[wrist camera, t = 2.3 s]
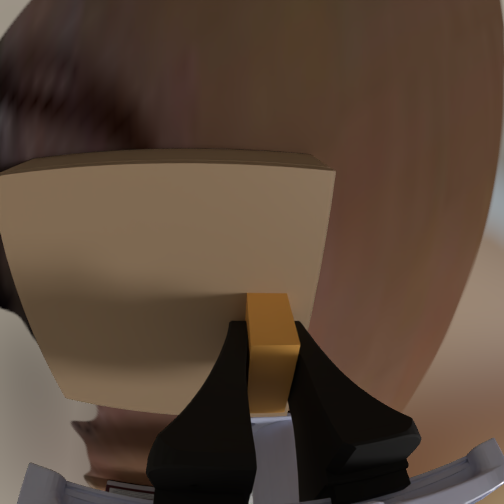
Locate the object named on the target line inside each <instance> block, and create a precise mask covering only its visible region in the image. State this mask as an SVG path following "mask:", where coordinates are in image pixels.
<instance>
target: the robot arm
mask: <svg viewBox="0 0 504 504" xmlns="http://www.w3.org/2000/svg"><path fill="white" fill-rule="evenodd" d="M294 322H295V326H296V330H297V333H298V337H299V341H300V349H299V354H298V358H297V363H296V367H295V371H294V376H293V380H292V384H291V388H290V392H289V396H288V400H287V401H288V405H289V409H290V413H287V416H276V417H250V409H249V400H248V391H247V380H246V359H247V343H248V330H247V323H246V321H230V322H229V327H228V332H227V336H226V339H225V342H224V345H223V347H222V349H221V352H220V354H219V356H218V359H217V361H216V363H215V364H214V366H213V368H212V370H211V372H210V374H209V376H208V377H207V379H206V380H205V382H204V384H203V385H202V387H201V388H200V389H199V391H198V392H197V394H196V395H195V396H194V398H193V399H192V400H191V402H190V403H189V404H188V405H187V406H186V407H185V409H184V410H183V411H182V412H181V413H180V414H179V415H178V416H177V417H176V418H175V419H174V420H173V421H172V422H171V423H170V424H169V425H168V426H167V427H166V428H165V429H164V430H163V431H162V432H160V433H159V434H158V436H157V437H156V439H155V441H154V444H153V446H152V448H151V451H150V454H149V457H148V461H147V468H146V474H147V477H148V478H149V480H150V481H151V483H152V485H153V486H154V488H155V490H154V500H147V499H141V498H135V497H129V496H124V495H119V494H115V493H110V492H106V491H101V490H97V489H93V488H90V487H86V486H82V485H79V484H75V483H72V482H69V481H66V480H65V478H64V477H63V476H61V475H60V474H59V473H57V472H55V471H53V470H50V469H47V468H44V467H42V466H39V465H36V464H34V463H29V465H28V468H27V471H26V474H25V478H24V481H23V484H22V487H21V491H20V494H19V498H18V502H17V504H249V499H250V494H252V492H253V504H474V503H476V502H478V501H479V500H481V499H483V498H484V497H485V496H487V495H489V494H490V493H491V492H493V491H494V490H496V489H497V488H499V487H500V486H501V485H502V484H504V456H503V454H502V452H501V450H500V448H499V446H498V444H497V442H496V440H495V438H491V439H489V440H488V441H485V442H484V443H481V444H479V445H478V446H476V447H475V448H473V449H472V450H471V451H470V452H469V453H468V454H467V456H465V457H463V458H460V459H458V460H456V461H453V462H451V463H449V464H446V465H444V466H441V467H439V468H436V469H434V470H431V471H428V472H426V473H423V474H420V475H417V476H414V477H411V478H409V476H408V474H407V471H406V468H408V462H407V459H406V458H407V457H408V456H409V455H410V454H411V453H412V452H413V451H414V450H415V449H416V448H417V446H418V445H419V444H420V441H421V436H420V434H419V432H418V429H417V427H416V425H415V423H414V421H413V419H412V418H411V417H409V416H406V415H404V414H402V413H400V412H398V411H396V410H394V409H392V408H390V407H388V406H387V405H385V404H383V403H381V402H380V401H378V400H377V399H375V398H374V397H372V396H371V395H369V394H368V393H367V392H365V391H364V390H362V389H361V388H360V387H358V386H357V385H356V384H355V383H353V382H352V381H351V380H350V379H349V378H348V377H347V376H346V375H344V374H343V373H342V372H341V371H340V370H339V369H338V368H337V367H336V365H335V364H334V363H333V362H332V361H331V360H330V359H329V358H328V357H327V356H326V354H325V353H324V352H323V351H322V350H321V348H320V347H319V346H318V345H317V343H316V342H315V341H314V339H313V338H312V337H311V335H310V334H309V333H308V331H307V330H306V329H305V327H304V326H303V324H302V323H301V322H300V321H294Z"/></svg>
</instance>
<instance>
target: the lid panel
mask: <svg viewBox="0 0 504 504" xmlns="http://www.w3.org/2000/svg"><path fill="white" fill-rule="evenodd" d="M335 174H336V171H335V170H333V169H332V168H327V167H317V166H306V165H294V164H280V163H263V162H243V161H210V160H156V161H124V162H104V163H88V164H75V165H64V166H53V167H44V168H35V169H27V170H19V171H12V172H5V173H0V233H1V237H2V241H3V245H4V249H5V253H6V257H7V260H8V264H9V267H10V270H11V274H12V277H13V280H14V283H15V286H16V289H17V292H18V295H19V298H20V301H21V303H22V306H23V309H24V311H25V314H26V317H27V319H28V322H29V324H30V326H31V329H32V331H33V334H34V336H35V338H36V341H37V343H38V345H39V347H40V349H41V352H42V354H43V356H44V358H45V360H46V362H47V364H48V366H49V368H50V370H51V372H52V374H53V376H54V378H55V380H56V382H57V383H58V385H59V387H60V389H61V391H62V393H63V394H64V396H65V398H67V399H72V400H77V401H81V402H86V403H91V404H96V405H102V406H108V407H114V408H120V409H127V410H134V411H142V412H151V413H161V414H172V415H179V414H180V413H181V412H182V411H183V410H184V409H185V407H186V406H187V405H188V404H189V403H190V402H191V400H192V399H193V398H194V396H195V395H196V394H197V392H198V391H199V389H200V388H201V387H202V385H203V384H204V382H205V380H206V379H207V377H208V376H209V374H210V372H211V370H212V368H213V366H214V364H215V363H216V361H217V359H218V356H219V354H220V352H221V349H222V347H223V345H224V342H225V339H226V336H227V332H228V327H229V322H230V321H246V323H247V330H248V343H247V359H246V380H247V391H248V400H249V409H250V417H276V416H287V413H288V409H289V405H288V401H287V400H288V396H289V392H290V388H291V384H292V380H293V376H294V371H295V367H296V363H297V358H298V354H299V349H300V341H299V337H298V333H297V330H296V326H295V322H294V321H300V322H301V323H302V324H303V326H304V327H305V329H306V330H307V331H308V327H309V323H310V318H311V313H312V309H313V304H314V299H315V294H316V289H317V284H318V279H319V273H320V268H321V263H322V257H323V251H324V246H325V240H326V234H327V228H328V222H329V215H330V209H331V202H332V195H333V188H334V181H335Z"/></svg>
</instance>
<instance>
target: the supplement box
mask: <svg viewBox="0 0 504 504" xmlns="http://www.w3.org/2000/svg"><path fill="white" fill-rule="evenodd" d="M154 490H155V488H154V487H149V486H141V485H134V484H127V483H121V482H116V481H110V480H108V481H107V485H106V490H105V491H106V492H110V493H115V494H119V495H124V496H129V497H135V498H141V499H147V500H154Z"/></svg>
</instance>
